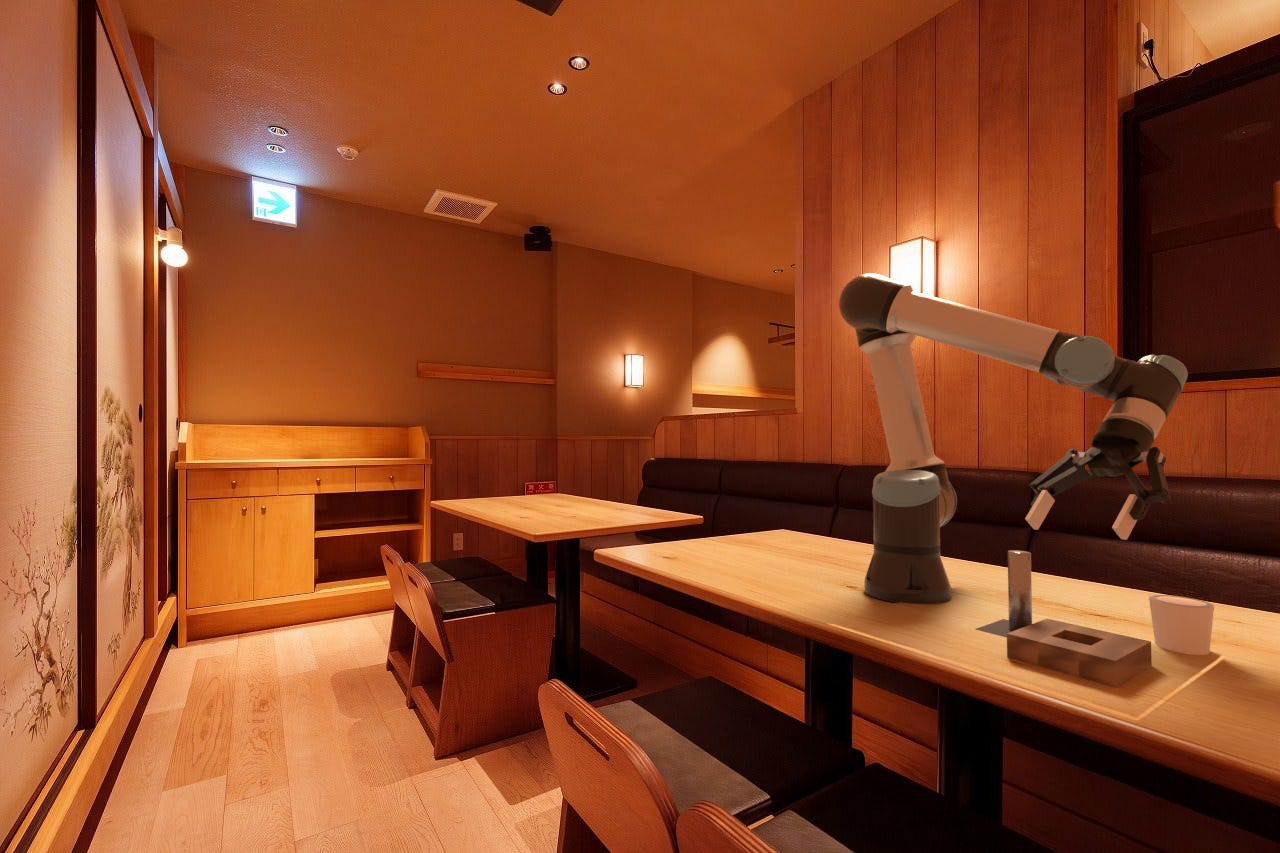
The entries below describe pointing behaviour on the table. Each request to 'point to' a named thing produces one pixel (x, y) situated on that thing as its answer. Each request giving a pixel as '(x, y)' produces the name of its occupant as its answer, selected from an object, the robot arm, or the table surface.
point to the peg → (1019, 589)
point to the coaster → (997, 628)
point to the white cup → (1182, 623)
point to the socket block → (1080, 651)
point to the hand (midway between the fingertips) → (1072, 528)
